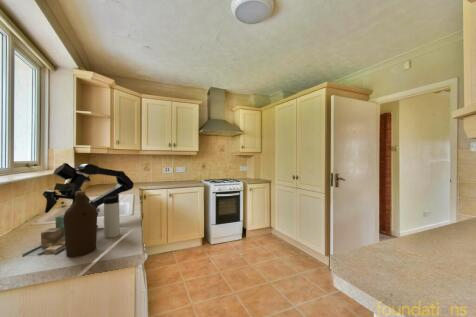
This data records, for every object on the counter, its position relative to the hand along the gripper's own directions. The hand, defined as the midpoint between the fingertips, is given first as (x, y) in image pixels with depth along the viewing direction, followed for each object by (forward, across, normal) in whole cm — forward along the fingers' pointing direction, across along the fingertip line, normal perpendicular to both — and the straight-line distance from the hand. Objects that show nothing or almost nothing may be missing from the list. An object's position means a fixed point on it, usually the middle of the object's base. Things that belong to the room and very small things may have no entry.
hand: (56, 213), depth 93 cm
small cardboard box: (+16, +11, -4) cm, 20 cm away
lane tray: (+13, +8, +2) cm, 15 cm away
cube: (+12, +4, +1) cm, 12 cm away
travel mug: (+6, +25, +7) cm, 27 cm away
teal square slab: (+11, +5, +4) cm, 13 cm away
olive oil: (+17, +22, -5) cm, 29 cm away
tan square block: (+13, +11, 0) cm, 17 cm away
